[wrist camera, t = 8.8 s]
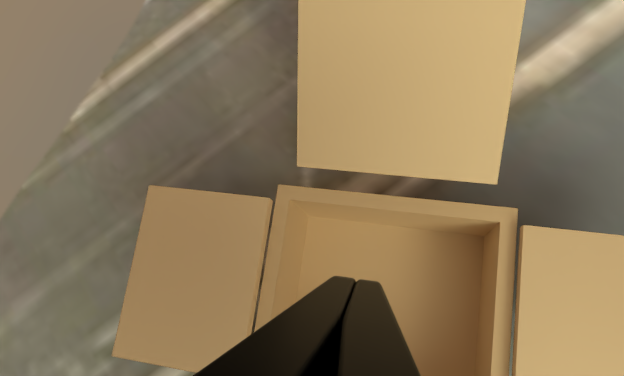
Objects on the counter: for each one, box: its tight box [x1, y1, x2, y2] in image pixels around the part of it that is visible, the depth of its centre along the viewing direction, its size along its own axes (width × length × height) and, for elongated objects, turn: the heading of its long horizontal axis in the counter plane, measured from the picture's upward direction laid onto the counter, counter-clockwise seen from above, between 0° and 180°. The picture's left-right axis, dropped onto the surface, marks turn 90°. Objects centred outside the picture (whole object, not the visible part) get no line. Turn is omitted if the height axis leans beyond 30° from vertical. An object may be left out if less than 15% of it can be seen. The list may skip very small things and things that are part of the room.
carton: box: [112, 184, 624, 376], centre depth 17 cm, size 9×17×4 cm, turn 82°
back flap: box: [297, 0, 526, 185], centre depth 14 cm, size 1×6×8 cm
